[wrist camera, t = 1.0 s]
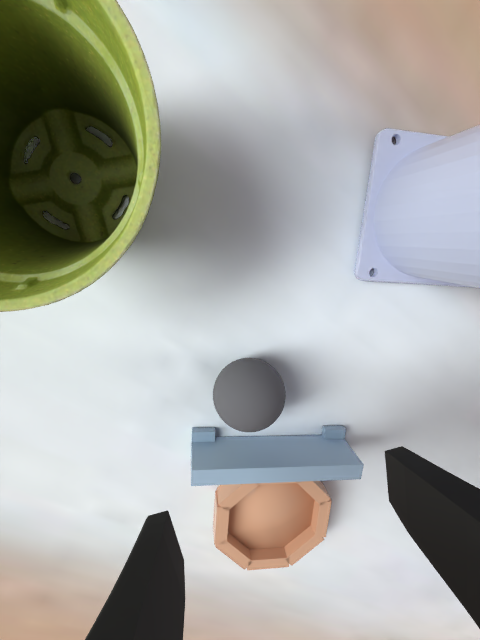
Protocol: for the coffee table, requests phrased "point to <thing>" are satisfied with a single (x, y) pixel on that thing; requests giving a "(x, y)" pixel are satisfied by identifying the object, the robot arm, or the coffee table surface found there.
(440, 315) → the coffee table surface
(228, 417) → the ball
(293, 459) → the blue slab with nubs
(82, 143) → the plant pot
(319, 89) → the coffee table surface
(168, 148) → the coffee table surface
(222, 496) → the bowl
